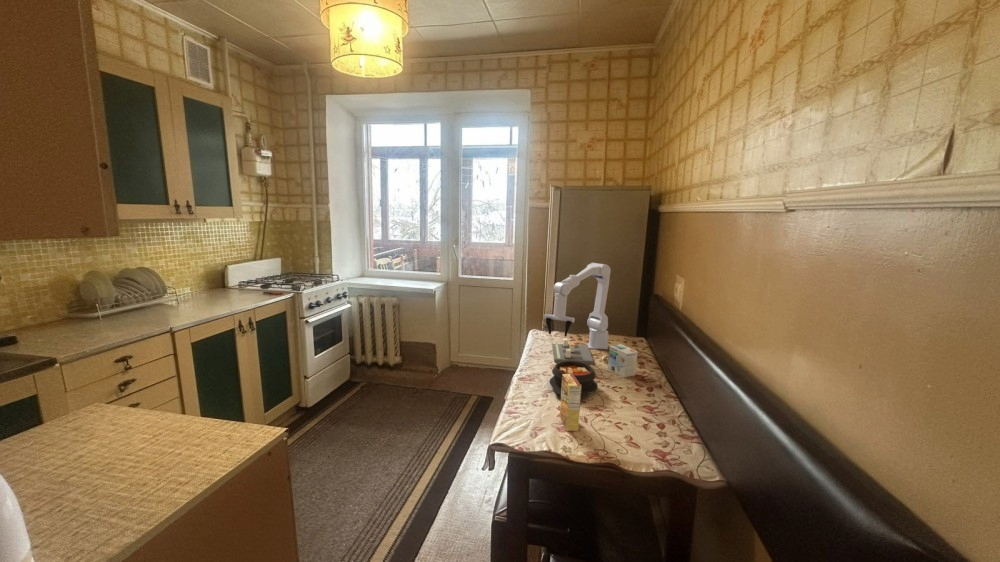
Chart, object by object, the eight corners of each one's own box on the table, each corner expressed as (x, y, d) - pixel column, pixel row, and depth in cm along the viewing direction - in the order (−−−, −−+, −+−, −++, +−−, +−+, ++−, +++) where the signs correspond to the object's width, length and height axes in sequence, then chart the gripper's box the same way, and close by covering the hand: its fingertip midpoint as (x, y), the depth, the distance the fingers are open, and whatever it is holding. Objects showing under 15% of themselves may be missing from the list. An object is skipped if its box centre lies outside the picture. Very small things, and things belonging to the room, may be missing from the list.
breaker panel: (587, 348, 194) (587, 338, 193) (593, 364, 172) (594, 353, 171) (552, 346, 195) (552, 336, 194) (554, 362, 174) (554, 351, 173)
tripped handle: (573, 350, 185) (573, 342, 184) (574, 352, 182) (574, 344, 181) (569, 349, 185) (569, 342, 184) (570, 351, 182) (570, 344, 181)
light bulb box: (607, 368, 168) (608, 345, 166) (618, 366, 170) (620, 343, 169) (624, 377, 158) (626, 353, 156) (636, 375, 161) (638, 351, 159)
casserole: (594, 406, 133) (595, 384, 132) (542, 397, 139) (543, 376, 138) (599, 379, 156) (601, 360, 155) (555, 372, 162) (556, 354, 161)
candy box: (559, 416, 125) (561, 373, 123) (571, 416, 126) (573, 373, 123) (566, 431, 117) (568, 385, 114) (579, 431, 117) (582, 385, 115)
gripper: (543, 307, 177) (541, 334, 179) (574, 310, 173) (571, 339, 175) (546, 304, 184) (544, 331, 186) (576, 308, 179) (573, 335, 181)
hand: (557, 334), depth 181 cm, fingers open, 7 cm apart
